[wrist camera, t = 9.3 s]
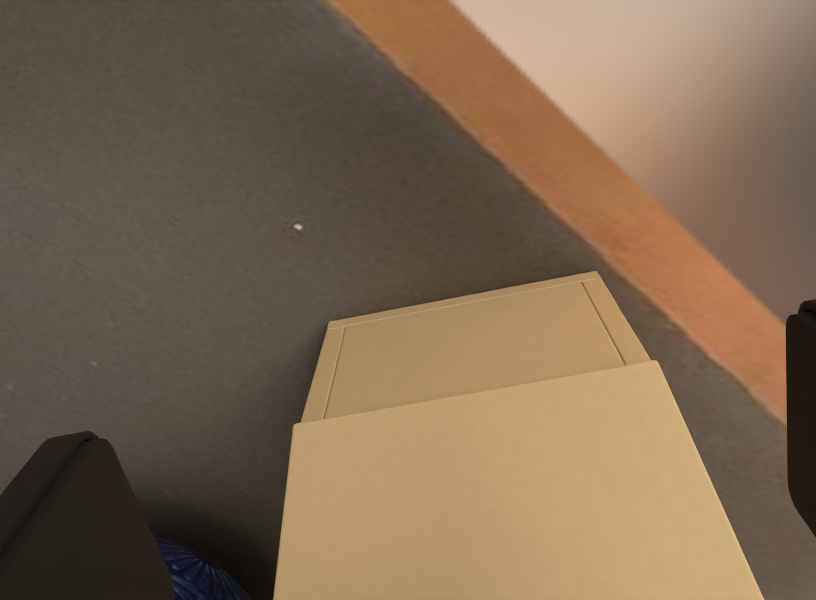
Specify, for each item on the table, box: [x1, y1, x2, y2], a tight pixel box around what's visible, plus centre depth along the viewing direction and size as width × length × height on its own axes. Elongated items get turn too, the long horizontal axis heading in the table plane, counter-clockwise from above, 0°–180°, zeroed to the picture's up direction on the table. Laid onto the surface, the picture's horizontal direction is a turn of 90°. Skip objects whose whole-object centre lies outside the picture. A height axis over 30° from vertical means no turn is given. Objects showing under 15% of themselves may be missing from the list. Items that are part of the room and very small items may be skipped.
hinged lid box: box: [300, 271, 651, 423], centre depth 29 cm, size 13×11×8 cm
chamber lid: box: [273, 360, 764, 600], centre depth 15 cm, size 14×11×6 cm
